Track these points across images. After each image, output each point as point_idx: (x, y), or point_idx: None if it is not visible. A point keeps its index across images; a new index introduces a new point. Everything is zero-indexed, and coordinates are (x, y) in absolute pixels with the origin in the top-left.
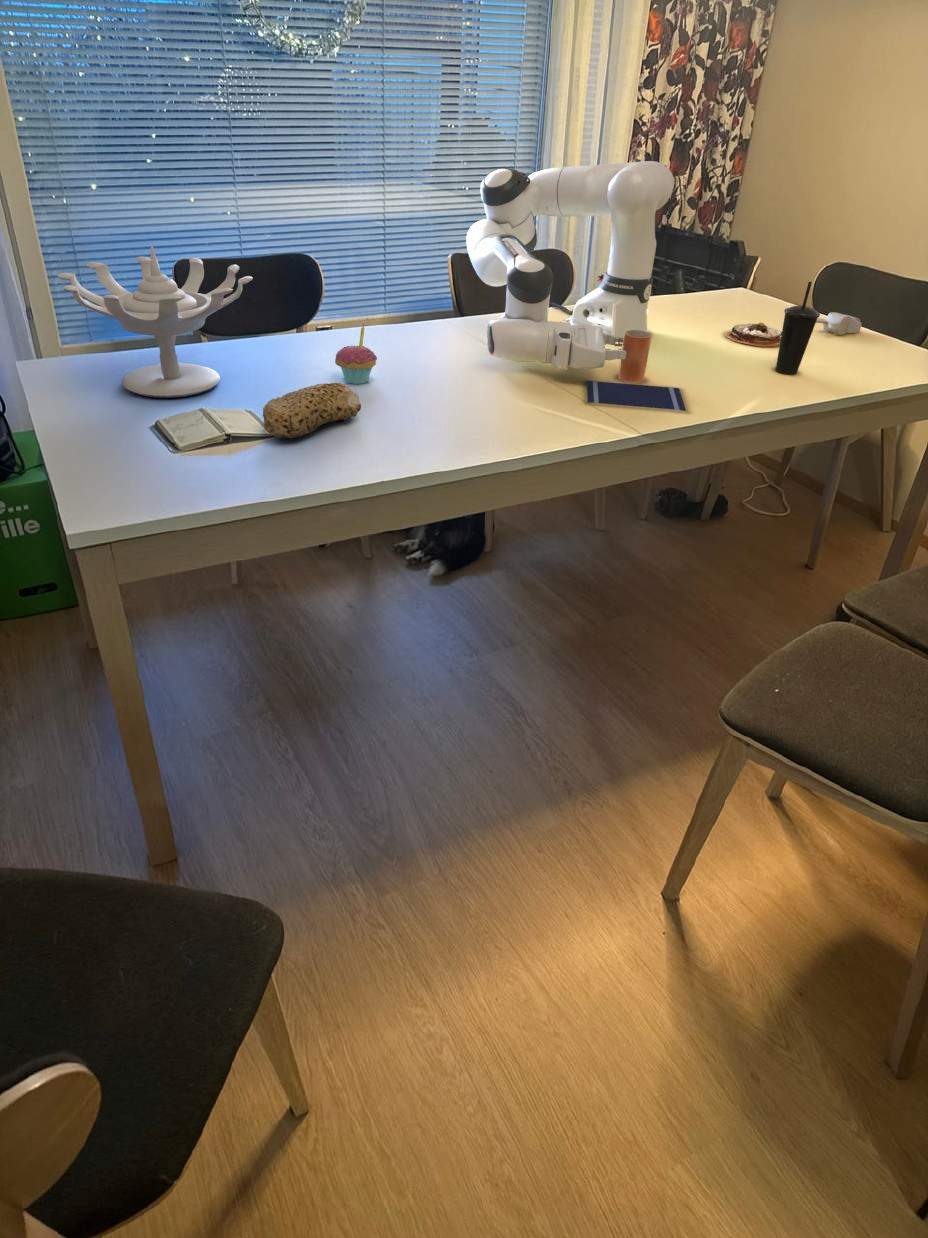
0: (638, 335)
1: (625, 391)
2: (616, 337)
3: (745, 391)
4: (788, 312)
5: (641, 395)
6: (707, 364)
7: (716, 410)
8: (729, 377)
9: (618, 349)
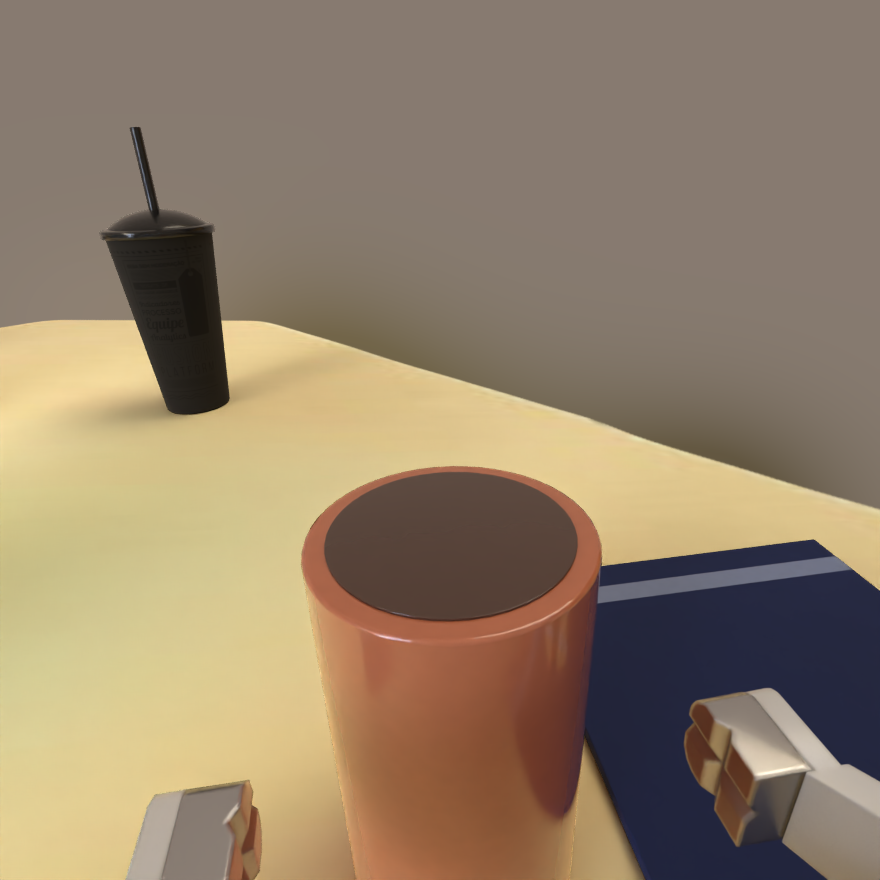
0: (530, 524)
1: None
2: (189, 875)
3: (421, 446)
4: (168, 231)
5: (811, 719)
6: (103, 525)
7: (682, 485)
8: (277, 475)
9: (791, 767)
